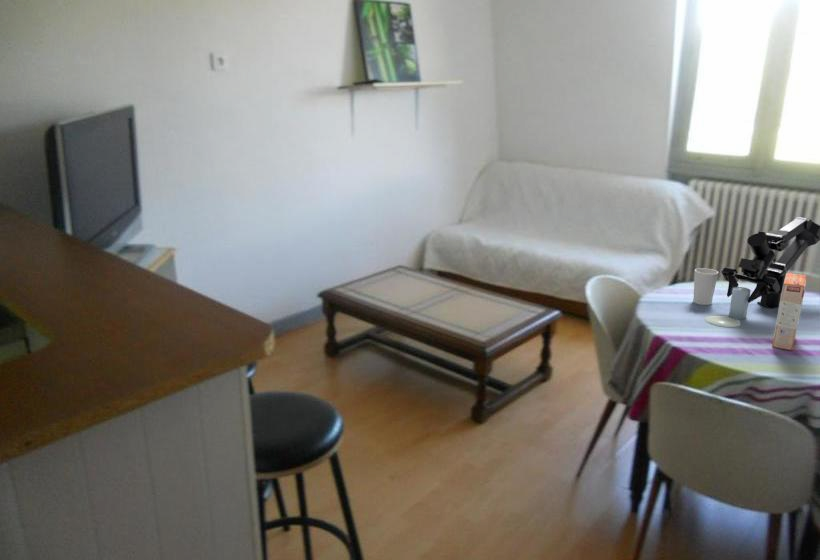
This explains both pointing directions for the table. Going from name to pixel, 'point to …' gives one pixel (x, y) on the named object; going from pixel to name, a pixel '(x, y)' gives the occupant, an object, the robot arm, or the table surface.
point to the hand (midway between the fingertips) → (737, 299)
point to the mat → (722, 321)
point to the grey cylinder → (739, 302)
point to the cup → (704, 285)
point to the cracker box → (789, 311)
